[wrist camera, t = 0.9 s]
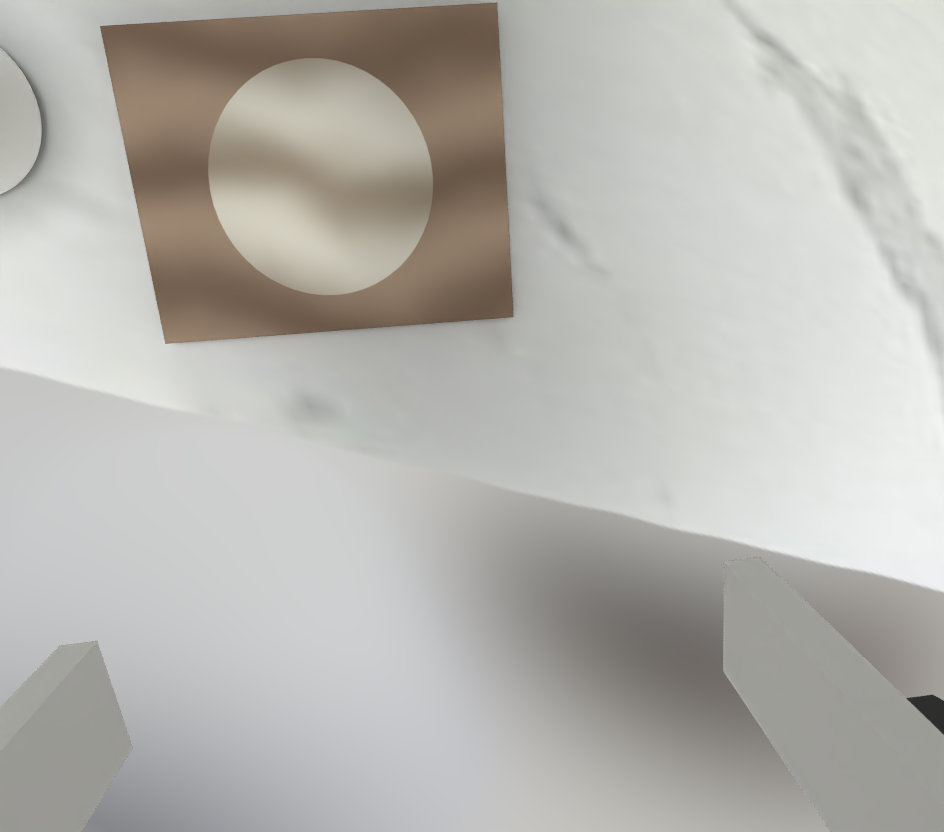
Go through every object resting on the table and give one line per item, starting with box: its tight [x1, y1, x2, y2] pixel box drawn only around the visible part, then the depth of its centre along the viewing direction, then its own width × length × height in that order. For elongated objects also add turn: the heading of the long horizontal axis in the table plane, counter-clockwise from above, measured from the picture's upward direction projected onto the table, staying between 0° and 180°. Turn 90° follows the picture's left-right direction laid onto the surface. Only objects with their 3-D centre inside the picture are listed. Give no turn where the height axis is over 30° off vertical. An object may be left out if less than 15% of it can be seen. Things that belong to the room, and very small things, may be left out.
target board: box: [100, 3, 513, 344], centre depth 33 cm, size 16×20×1 cm
